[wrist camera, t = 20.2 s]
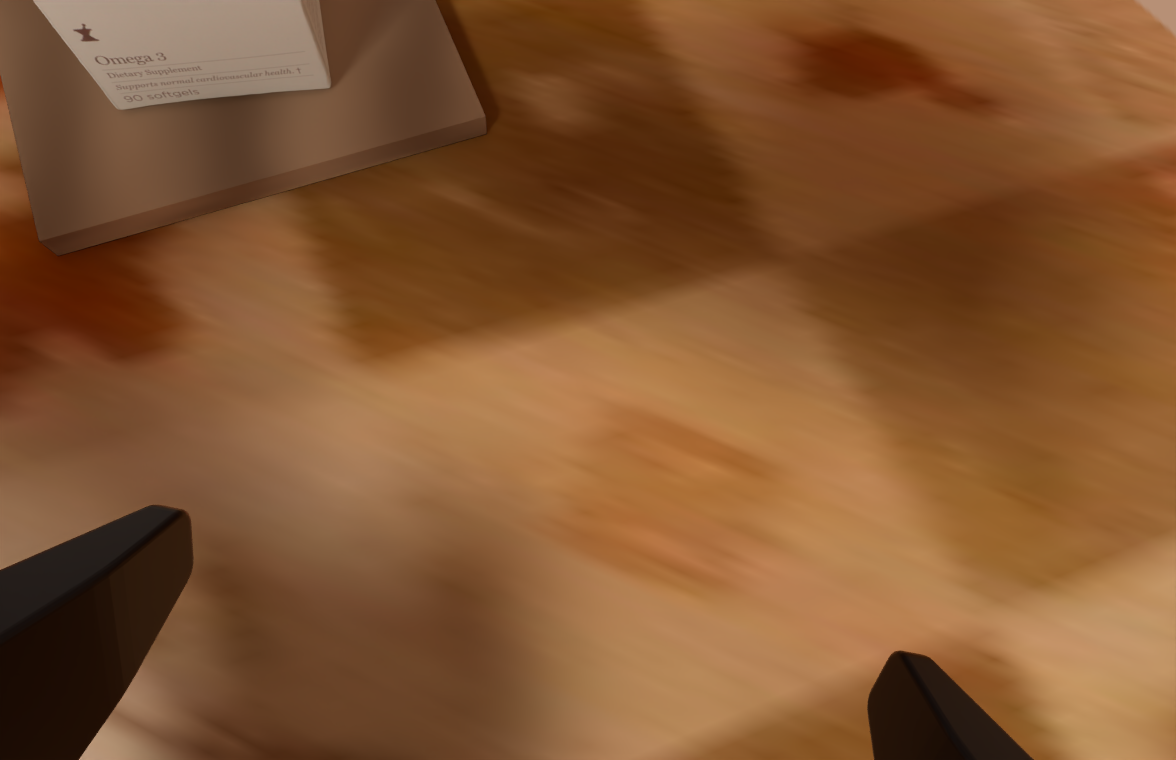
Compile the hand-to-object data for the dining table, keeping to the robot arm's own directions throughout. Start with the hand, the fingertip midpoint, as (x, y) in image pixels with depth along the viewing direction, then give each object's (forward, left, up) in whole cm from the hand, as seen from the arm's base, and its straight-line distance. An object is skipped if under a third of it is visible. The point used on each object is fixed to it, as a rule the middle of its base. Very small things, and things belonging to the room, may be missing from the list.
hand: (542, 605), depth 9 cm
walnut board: (-3, +24, -14) cm, 28 cm away
